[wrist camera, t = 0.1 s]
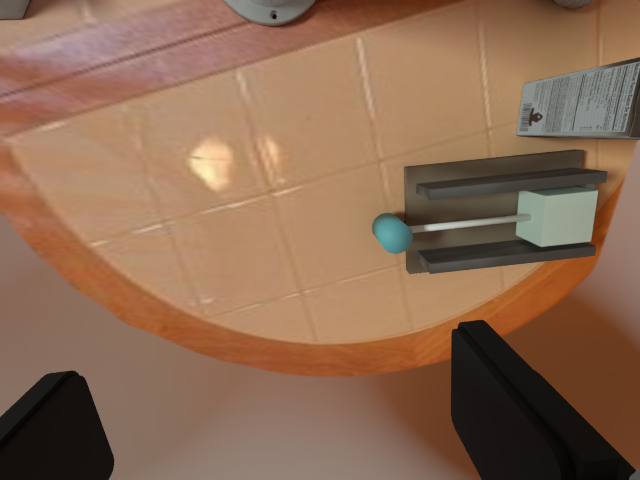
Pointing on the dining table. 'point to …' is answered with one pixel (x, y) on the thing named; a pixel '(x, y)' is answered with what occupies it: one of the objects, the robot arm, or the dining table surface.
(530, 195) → the cube with teal knob
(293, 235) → the dining table surface
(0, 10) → the flask
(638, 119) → the coffee box
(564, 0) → the garlic bulb
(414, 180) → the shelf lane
